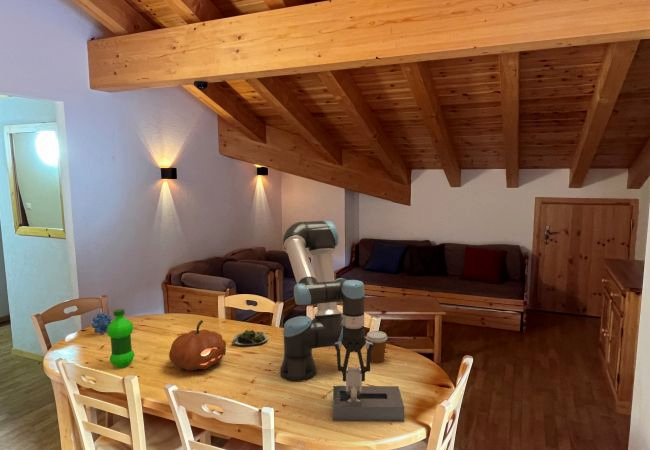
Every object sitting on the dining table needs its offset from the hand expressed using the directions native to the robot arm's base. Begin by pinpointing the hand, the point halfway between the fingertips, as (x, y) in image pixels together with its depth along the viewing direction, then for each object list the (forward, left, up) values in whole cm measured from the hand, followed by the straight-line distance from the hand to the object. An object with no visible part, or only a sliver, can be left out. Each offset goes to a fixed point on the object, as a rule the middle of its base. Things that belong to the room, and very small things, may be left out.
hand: (353, 389), depth 147 cm
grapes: (-130, +70, -8) cm, 148 cm away
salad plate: (-50, +62, -8) cm, 80 cm away
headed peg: (0, 0, -7) cm, 7 cm away
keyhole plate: (+5, 0, -8) cm, 9 cm away
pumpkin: (-67, +35, -8) cm, 76 cm away
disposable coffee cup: (+12, +40, -8) cm, 42 cm away
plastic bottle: (-101, +34, -8) cm, 107 cm away
